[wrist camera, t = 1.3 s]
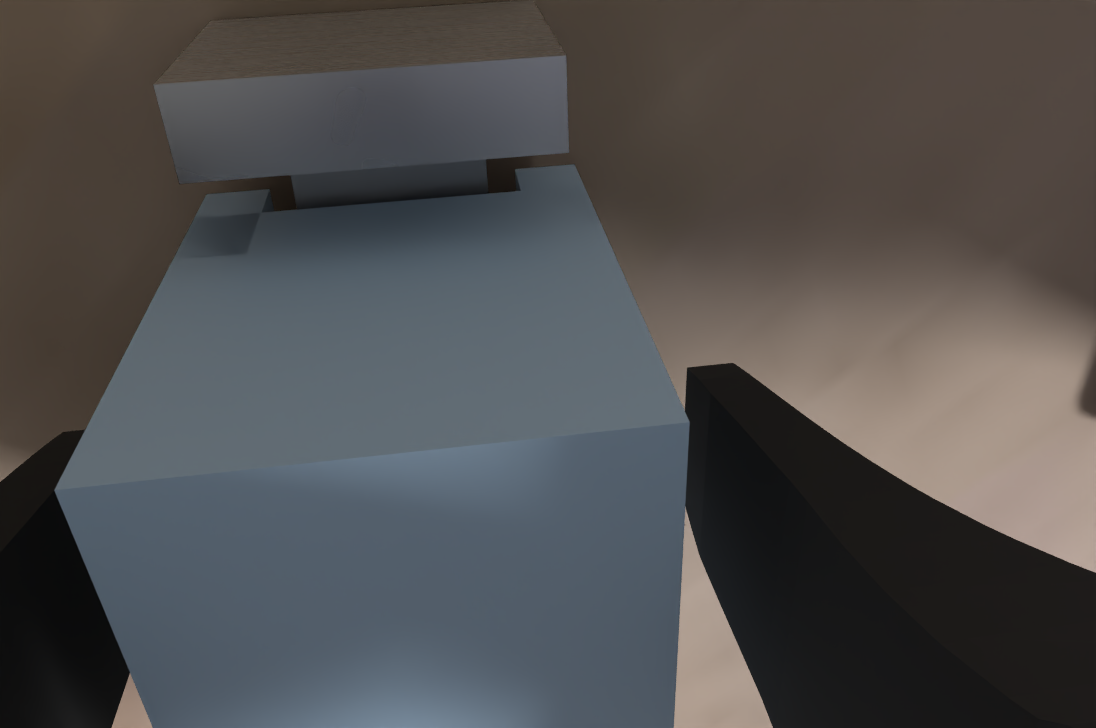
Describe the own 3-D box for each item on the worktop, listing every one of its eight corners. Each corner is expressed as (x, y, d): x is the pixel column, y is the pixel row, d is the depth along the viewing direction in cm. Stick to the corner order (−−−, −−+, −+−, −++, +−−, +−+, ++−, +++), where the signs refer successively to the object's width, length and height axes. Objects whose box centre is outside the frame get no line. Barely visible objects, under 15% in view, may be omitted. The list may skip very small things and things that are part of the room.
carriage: (574, 164, 12) (689, 422, 7) (583, 508, 15) (666, 855, 10) (206, 194, 12) (53, 489, 7) (292, 541, 15) (232, 920, 10)
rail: (533, -1, 12) (566, 55, 9) (572, 884, 23) (592, 1022, 20) (210, 21, 11) (153, 84, 9) (408, 908, 22) (408, 1052, 20)
